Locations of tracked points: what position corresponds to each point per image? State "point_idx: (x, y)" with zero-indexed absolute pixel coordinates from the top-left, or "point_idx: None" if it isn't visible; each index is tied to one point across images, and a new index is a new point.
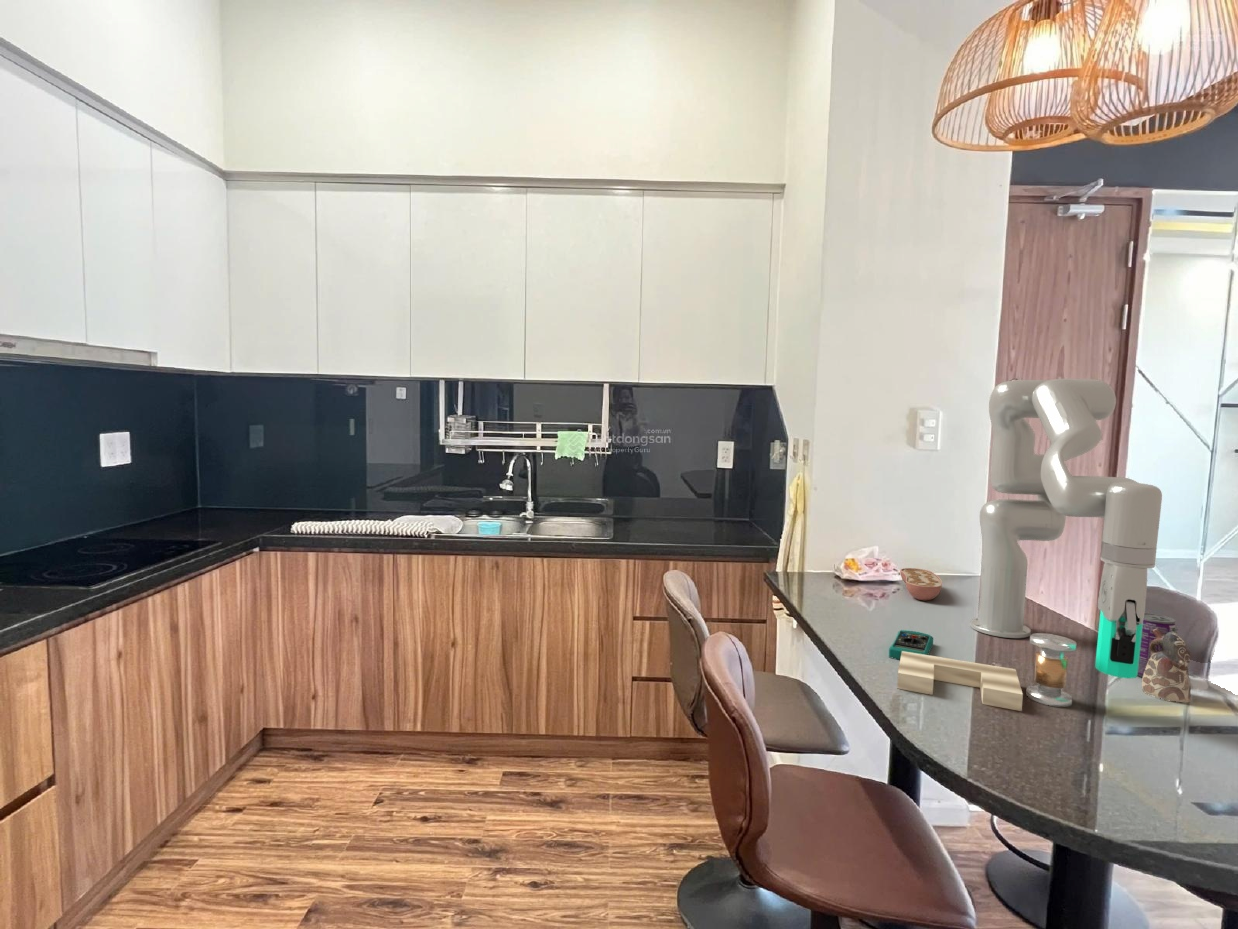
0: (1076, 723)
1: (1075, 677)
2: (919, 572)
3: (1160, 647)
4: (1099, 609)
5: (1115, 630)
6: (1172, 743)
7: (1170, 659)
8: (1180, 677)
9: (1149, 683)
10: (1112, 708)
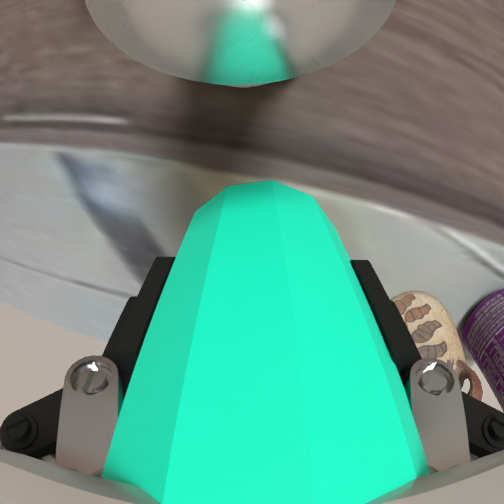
0: (81, 90)
1: (467, 159)
2: None
3: (497, 376)
4: (461, 486)
5: (83, 416)
6: (96, 276)
7: None
8: None
9: (404, 315)
10: None
